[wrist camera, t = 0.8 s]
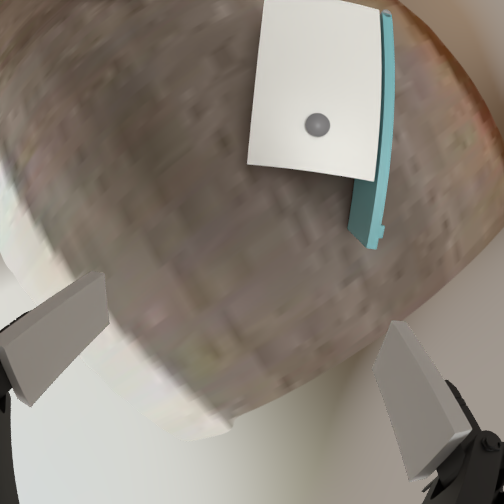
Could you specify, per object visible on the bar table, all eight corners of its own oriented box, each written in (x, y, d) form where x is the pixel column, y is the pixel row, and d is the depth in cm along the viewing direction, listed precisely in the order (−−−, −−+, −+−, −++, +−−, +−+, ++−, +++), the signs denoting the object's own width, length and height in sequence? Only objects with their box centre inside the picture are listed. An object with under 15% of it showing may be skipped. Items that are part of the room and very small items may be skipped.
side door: (362, 37, 25) (382, 8, 17) (376, 40, 24) (398, 13, 17) (347, 229, 32) (366, 248, 24) (361, 231, 32) (384, 250, 24)
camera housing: (270, 19, 26) (266, -22, 17) (358, 32, 25) (380, -4, 16) (256, 165, 32) (246, 164, 22) (350, 177, 31) (376, 182, 22)
